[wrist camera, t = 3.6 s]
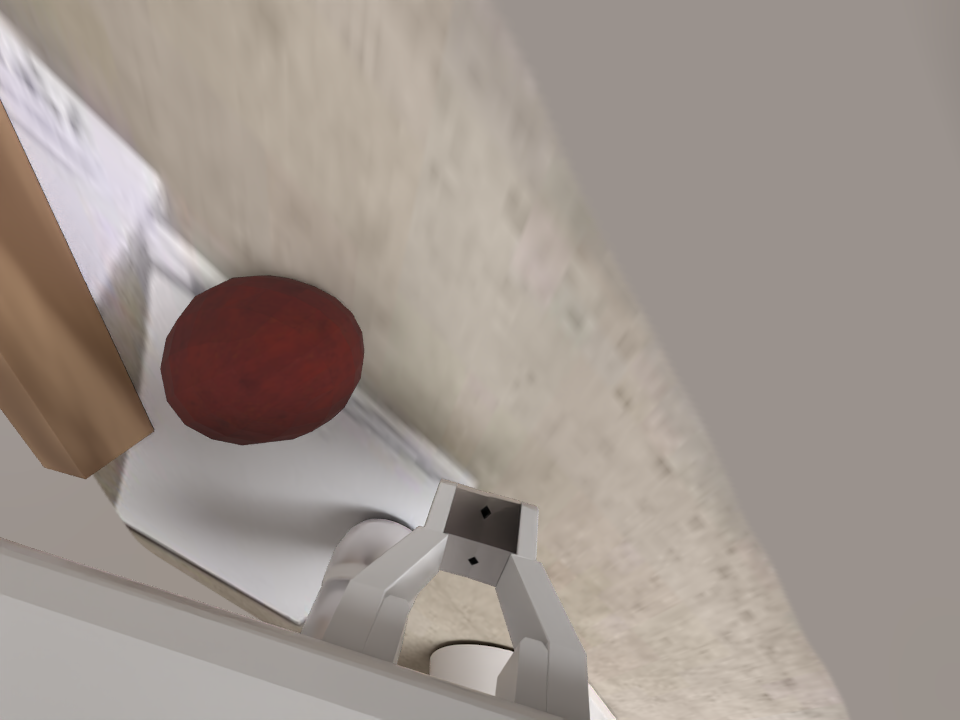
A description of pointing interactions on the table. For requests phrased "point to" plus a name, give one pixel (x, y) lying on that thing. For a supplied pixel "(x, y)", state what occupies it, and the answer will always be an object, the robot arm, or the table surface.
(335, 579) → the plastic bottle
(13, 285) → the board
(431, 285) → the table surface
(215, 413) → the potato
